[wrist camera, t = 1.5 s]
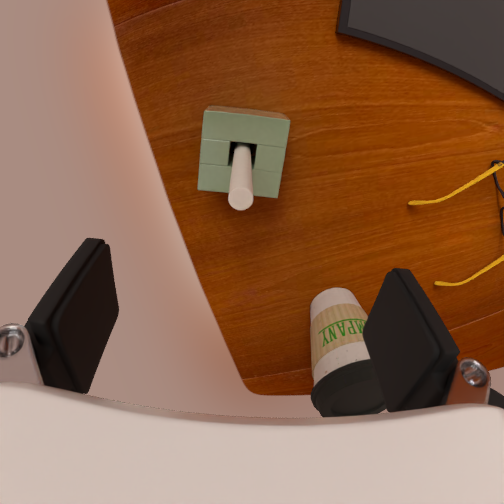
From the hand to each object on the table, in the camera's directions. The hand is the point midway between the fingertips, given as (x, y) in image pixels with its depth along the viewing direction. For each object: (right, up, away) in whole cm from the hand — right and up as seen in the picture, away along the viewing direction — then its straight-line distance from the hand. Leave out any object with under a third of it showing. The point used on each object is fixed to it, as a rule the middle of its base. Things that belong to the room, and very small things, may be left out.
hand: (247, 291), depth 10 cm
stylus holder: (-1, +12, +19) cm, 22 cm away
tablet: (+21, +27, +10) cm, 36 cm away
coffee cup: (+11, -6, +30) cm, 33 cm away
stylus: (-1, +12, +19) cm, 22 cm away
